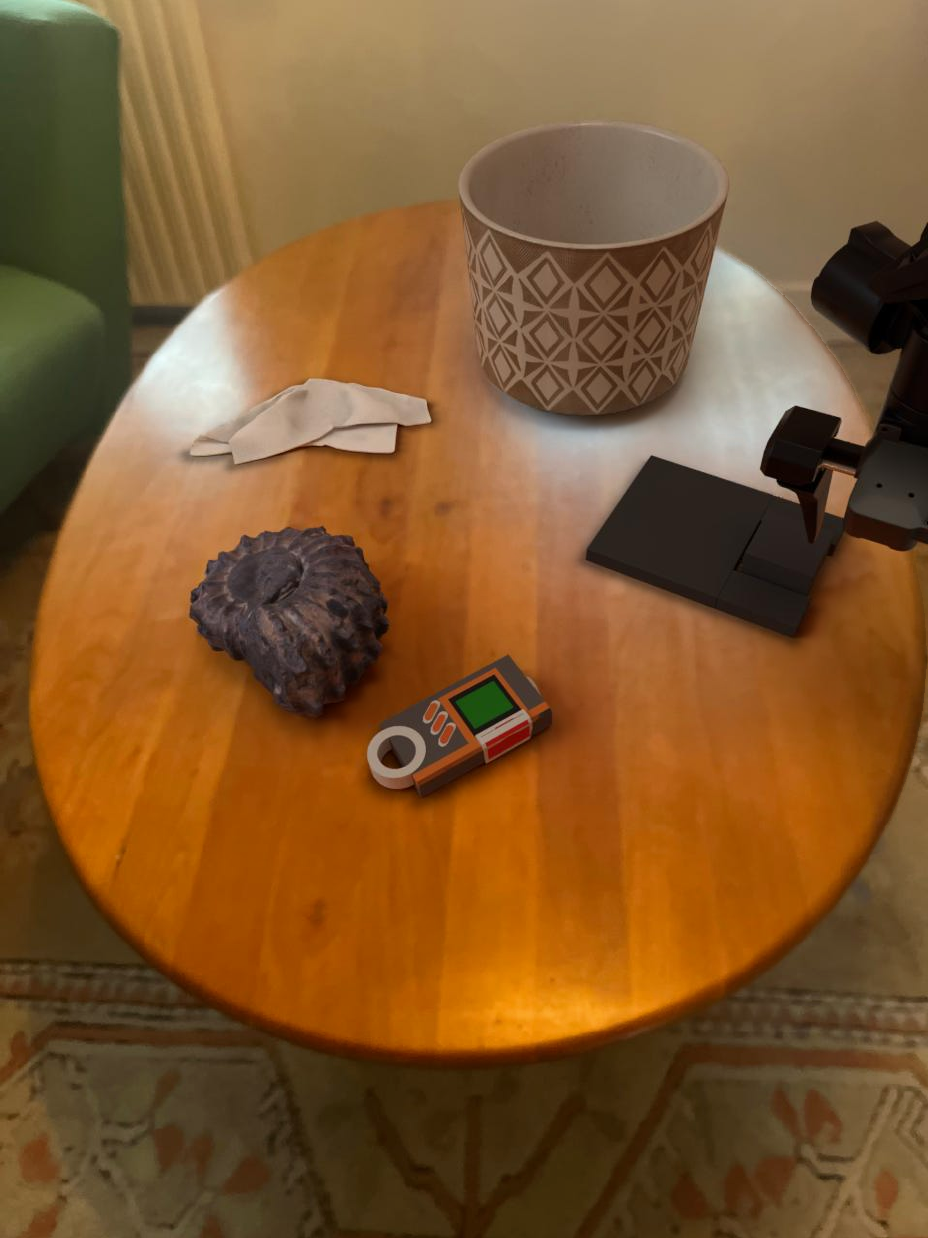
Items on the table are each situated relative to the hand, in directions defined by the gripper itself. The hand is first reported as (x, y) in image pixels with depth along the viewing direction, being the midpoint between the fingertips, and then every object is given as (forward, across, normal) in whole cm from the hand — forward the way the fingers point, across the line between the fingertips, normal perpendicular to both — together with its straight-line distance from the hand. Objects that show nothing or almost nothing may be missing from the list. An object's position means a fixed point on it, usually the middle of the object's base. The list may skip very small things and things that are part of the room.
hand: (872, 559), depth 73 cm
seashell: (+11, -41, -22) cm, 48 cm away
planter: (+11, -37, +27) cm, 47 cm away
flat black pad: (+11, -14, +7) cm, 19 cm away
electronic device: (+12, -24, -23) cm, 35 cm away
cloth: (+10, -59, +5) cm, 60 cm away
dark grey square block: (+11, -7, +7) cm, 15 cm away
